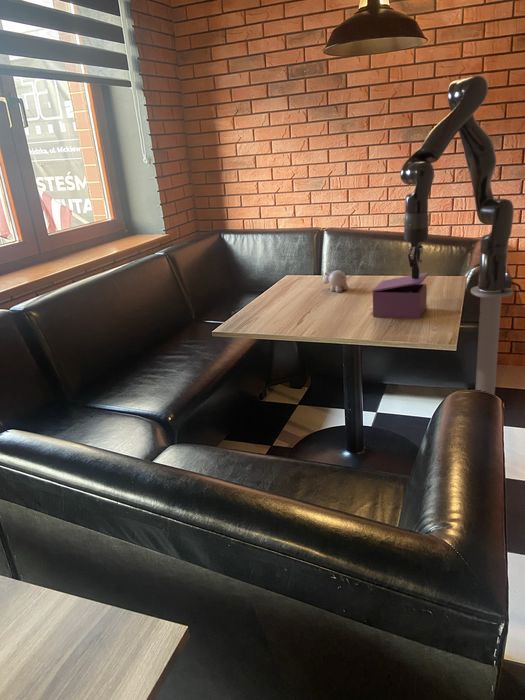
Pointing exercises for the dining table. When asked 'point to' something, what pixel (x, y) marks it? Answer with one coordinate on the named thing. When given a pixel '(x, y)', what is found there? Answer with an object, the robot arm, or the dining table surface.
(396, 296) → the box
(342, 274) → the chubby cartoon animal
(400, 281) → the lid
